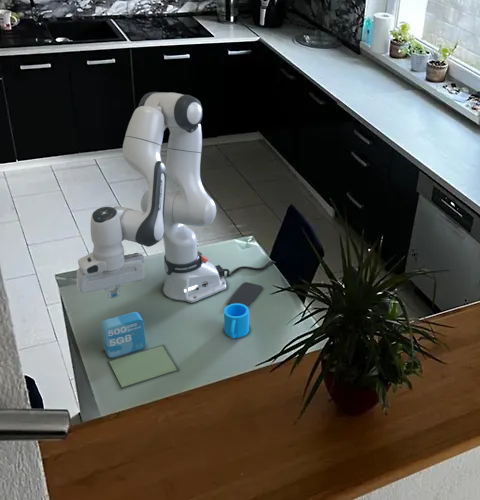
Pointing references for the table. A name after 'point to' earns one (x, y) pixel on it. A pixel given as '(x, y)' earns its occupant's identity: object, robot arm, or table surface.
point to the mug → (236, 320)
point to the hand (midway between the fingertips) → (113, 296)
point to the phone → (245, 294)
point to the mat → (142, 366)
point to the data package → (123, 334)
